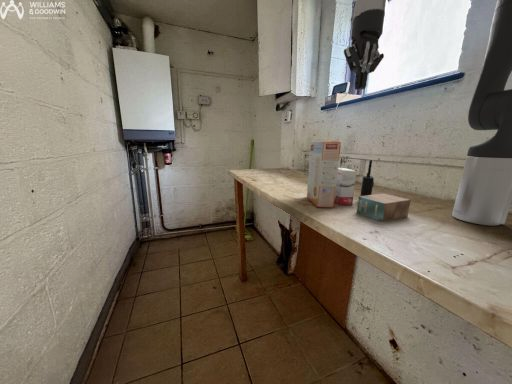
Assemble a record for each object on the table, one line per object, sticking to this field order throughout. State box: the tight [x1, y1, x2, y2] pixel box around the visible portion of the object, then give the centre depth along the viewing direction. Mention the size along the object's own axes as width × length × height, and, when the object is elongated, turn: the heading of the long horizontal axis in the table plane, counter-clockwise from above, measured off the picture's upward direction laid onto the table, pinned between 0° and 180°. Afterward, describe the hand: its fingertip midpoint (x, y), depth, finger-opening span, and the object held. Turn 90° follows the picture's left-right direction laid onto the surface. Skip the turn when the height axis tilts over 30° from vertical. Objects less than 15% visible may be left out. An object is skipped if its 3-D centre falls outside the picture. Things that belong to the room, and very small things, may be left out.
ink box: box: [334, 167, 357, 206], centre depth 72 cm, size 9×5×12 cm, turn 179°
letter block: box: [356, 193, 412, 222], centre depth 60 cm, size 5×8×11 cm
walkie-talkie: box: [359, 159, 375, 196], centre depth 70 cm, size 5×3×15 cm
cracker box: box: [306, 140, 342, 209], centre depth 70 cm, size 14×6×21 cm, turn 179°
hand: (359, 89), depth 57 cm, fingers closed
